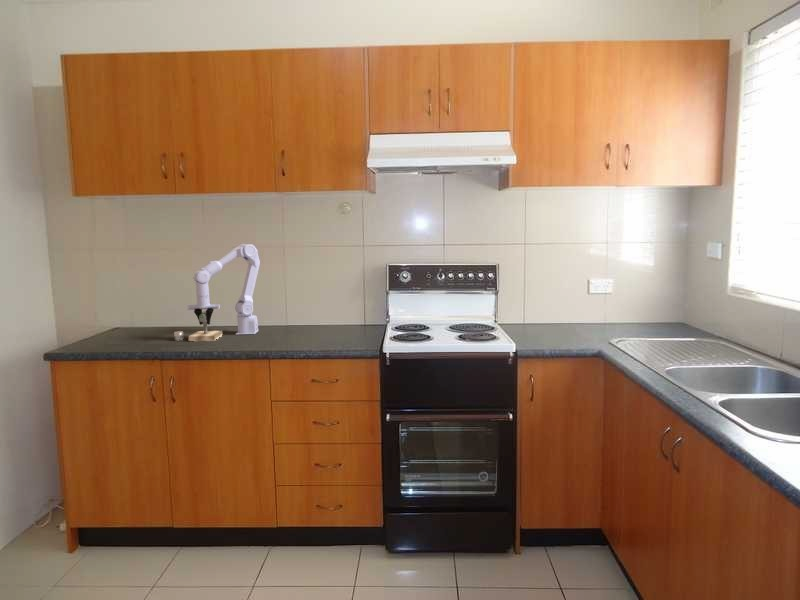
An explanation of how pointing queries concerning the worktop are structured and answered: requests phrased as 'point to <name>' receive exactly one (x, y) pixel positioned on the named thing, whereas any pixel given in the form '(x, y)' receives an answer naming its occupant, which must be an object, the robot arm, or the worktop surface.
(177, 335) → the steel bushing
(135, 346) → the worktop surface
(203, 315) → the mechanical component
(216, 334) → the stand
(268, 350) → the worktop surface
